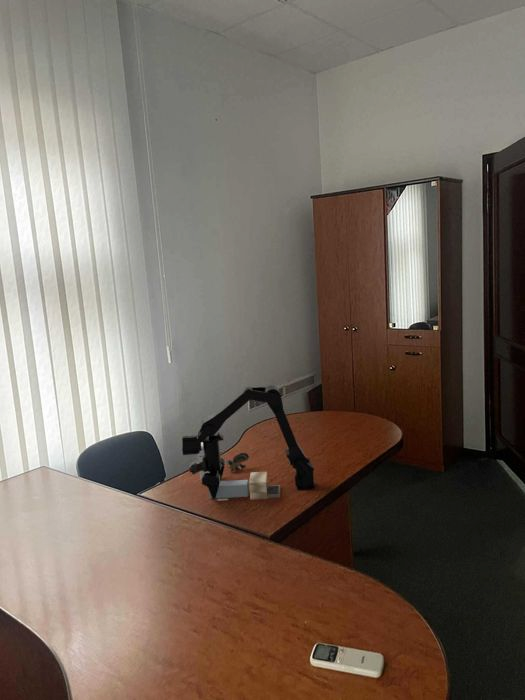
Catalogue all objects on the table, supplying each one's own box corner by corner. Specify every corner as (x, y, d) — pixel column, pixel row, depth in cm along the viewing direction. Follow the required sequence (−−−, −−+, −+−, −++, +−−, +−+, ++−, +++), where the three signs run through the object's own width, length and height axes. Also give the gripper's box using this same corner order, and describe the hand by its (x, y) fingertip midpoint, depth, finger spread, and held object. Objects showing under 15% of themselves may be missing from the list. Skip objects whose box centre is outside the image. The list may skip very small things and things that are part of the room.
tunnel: (268, 487, 205) (266, 471, 204) (267, 498, 195) (265, 482, 194) (252, 488, 205) (250, 472, 204) (250, 499, 196) (248, 483, 195)
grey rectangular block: (249, 491, 203) (247, 479, 202) (248, 496, 198) (247, 484, 198) (211, 493, 204) (210, 481, 203) (209, 498, 199) (208, 486, 198)
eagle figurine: (242, 471, 219) (253, 460, 227) (231, 457, 220) (242, 446, 227) (230, 478, 224) (242, 467, 231) (220, 464, 224) (231, 453, 231)
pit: (280, 487, 204) (280, 484, 204) (280, 497, 196) (279, 494, 196) (268, 488, 205) (267, 485, 204) (267, 497, 196) (266, 495, 196)
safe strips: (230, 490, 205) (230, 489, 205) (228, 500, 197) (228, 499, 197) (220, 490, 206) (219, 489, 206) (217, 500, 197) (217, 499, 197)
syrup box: (215, 481, 214) (211, 446, 212) (200, 482, 215) (196, 447, 212) (216, 475, 220) (213, 441, 218) (202, 476, 220) (198, 442, 218)
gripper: (194, 445, 208) (198, 484, 211) (185, 463, 190) (189, 505, 192) (223, 443, 208) (226, 482, 210) (216, 461, 189) (221, 503, 192)
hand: (215, 493), depth 201 cm, fingers open, 9 cm apart
